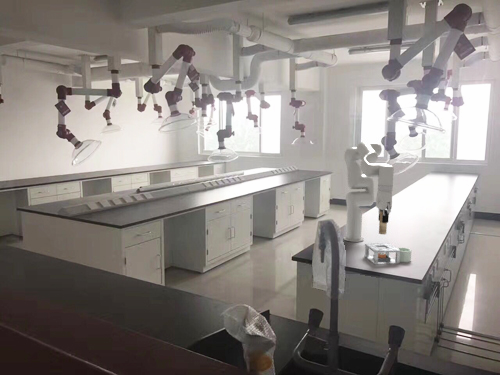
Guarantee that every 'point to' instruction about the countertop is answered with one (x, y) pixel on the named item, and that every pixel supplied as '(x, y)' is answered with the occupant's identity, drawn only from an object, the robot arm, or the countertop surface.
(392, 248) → the breaker guard
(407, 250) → the holder
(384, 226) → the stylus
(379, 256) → the breaker plunger
